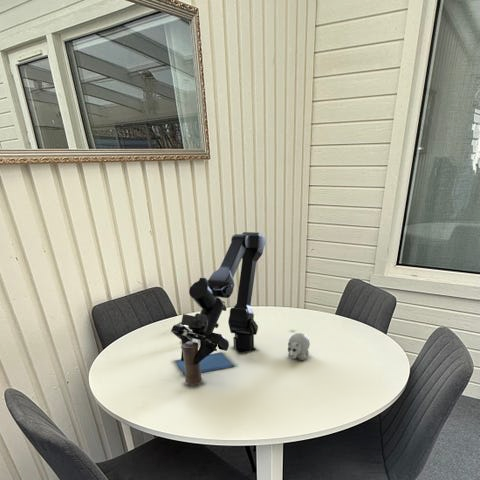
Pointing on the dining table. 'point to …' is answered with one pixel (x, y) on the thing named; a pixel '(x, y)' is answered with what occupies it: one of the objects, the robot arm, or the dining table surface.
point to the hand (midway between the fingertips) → (188, 362)
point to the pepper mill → (191, 363)
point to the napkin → (210, 363)
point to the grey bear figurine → (298, 346)
